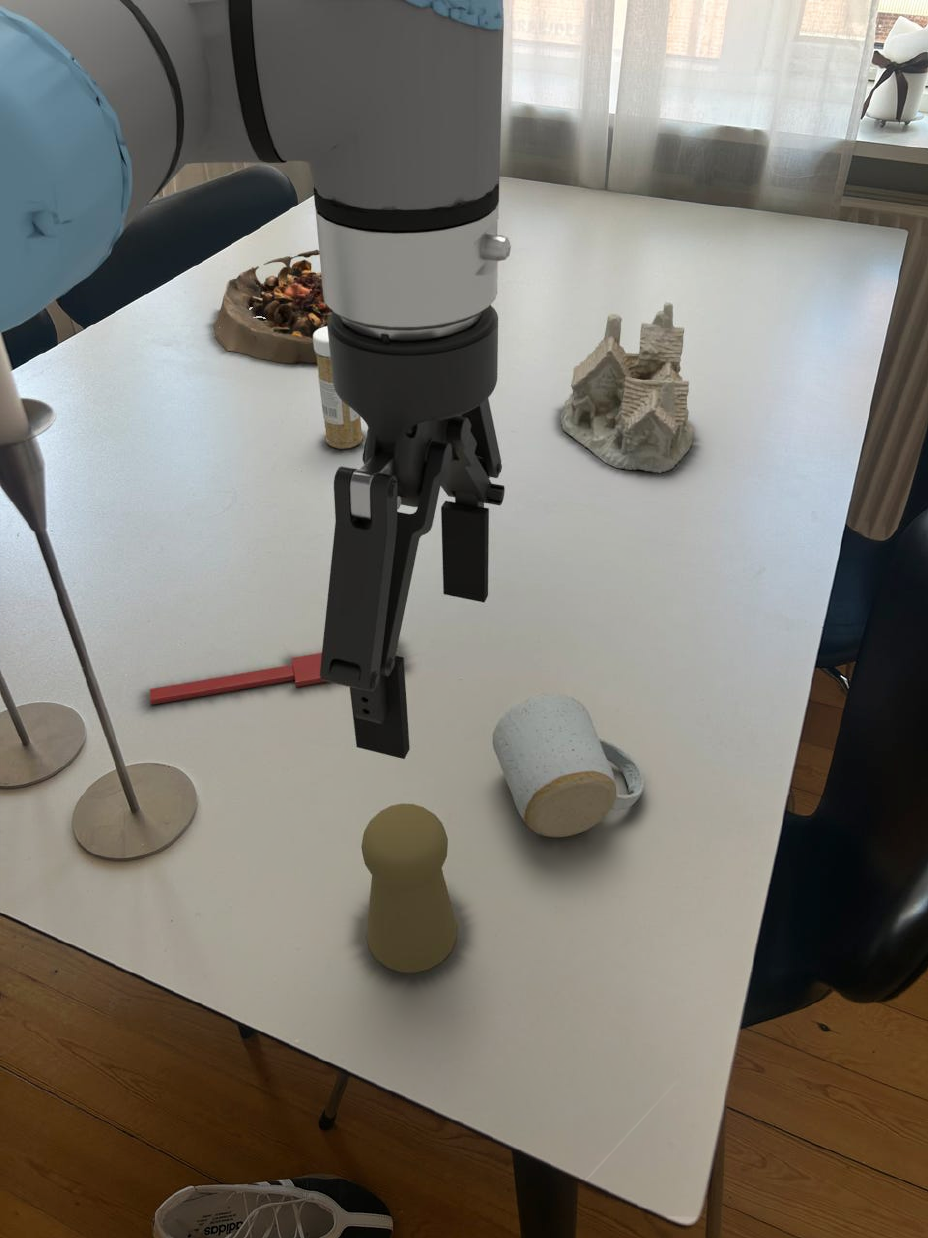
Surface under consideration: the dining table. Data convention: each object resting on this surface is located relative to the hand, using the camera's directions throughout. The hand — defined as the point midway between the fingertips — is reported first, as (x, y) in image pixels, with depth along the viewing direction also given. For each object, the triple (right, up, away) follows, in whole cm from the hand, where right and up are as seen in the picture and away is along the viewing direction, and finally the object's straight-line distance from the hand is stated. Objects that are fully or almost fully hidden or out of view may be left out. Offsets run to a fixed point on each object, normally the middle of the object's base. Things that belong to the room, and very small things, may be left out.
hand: (428, 665), depth 56 cm
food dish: (-17, +47, +87) cm, 100 cm away
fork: (-15, -2, +27) cm, 31 cm away
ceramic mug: (+10, -11, +17) cm, 23 cm away
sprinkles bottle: (-12, +24, +59) cm, 65 cm away
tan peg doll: (-1, -18, +9) cm, 20 cm away
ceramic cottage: (+21, +24, +59) cm, 67 cm away
